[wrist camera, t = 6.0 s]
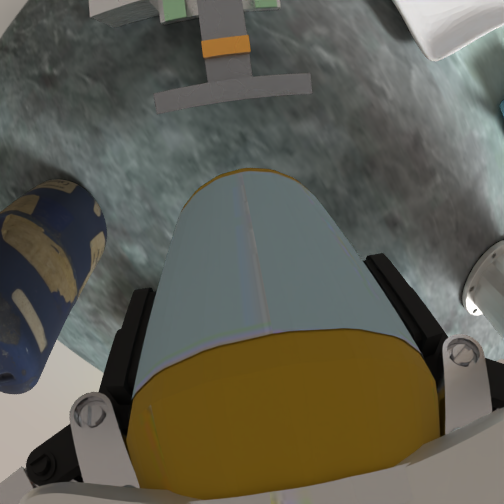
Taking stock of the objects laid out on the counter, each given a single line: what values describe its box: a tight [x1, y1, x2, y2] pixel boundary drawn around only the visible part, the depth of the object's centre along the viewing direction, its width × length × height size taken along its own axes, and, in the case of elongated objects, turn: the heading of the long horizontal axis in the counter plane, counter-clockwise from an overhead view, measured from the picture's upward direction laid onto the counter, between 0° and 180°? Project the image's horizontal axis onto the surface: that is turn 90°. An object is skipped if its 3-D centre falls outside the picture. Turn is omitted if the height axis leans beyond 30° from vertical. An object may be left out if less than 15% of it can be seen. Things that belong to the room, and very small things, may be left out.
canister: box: [0, 179, 107, 394], centre depth 18 cm, size 10×10×18 cm
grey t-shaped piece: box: [154, 0, 312, 114], centre depth 15 cm, size 8×11×7 cm
